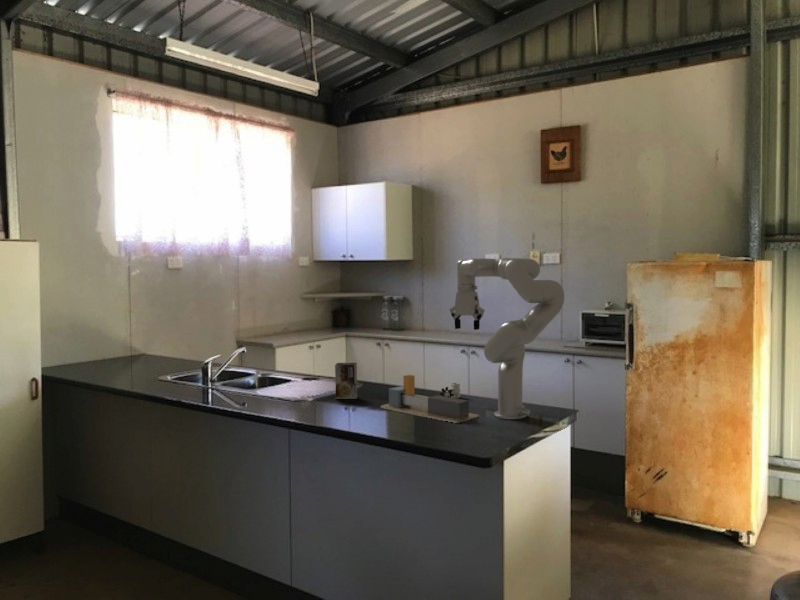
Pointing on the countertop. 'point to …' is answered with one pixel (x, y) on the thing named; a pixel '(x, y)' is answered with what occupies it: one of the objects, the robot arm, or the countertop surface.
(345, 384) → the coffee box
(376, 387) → the countertop surface
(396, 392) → the socket block
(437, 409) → the stand
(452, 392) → the valve
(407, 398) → the sliding bar with handle
